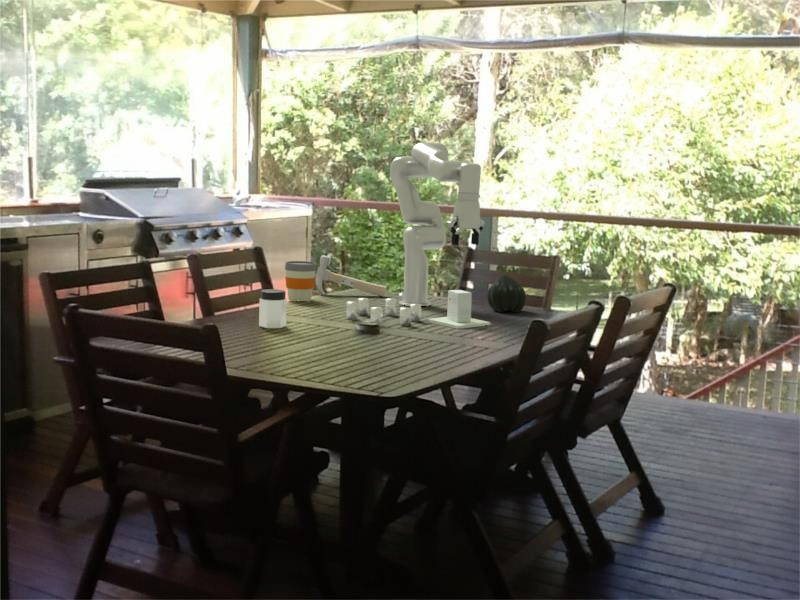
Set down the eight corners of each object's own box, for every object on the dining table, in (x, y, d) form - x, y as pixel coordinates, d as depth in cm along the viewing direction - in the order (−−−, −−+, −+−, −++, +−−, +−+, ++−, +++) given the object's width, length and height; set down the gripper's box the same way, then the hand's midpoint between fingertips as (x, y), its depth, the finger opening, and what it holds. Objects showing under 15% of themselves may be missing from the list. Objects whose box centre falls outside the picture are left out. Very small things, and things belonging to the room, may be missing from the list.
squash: (525, 302, 344) (526, 270, 353) (485, 301, 347) (487, 269, 355) (525, 322, 356) (526, 290, 364) (487, 321, 358) (489, 289, 367)
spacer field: (335, 316, 328) (335, 299, 327) (382, 311, 342) (383, 296, 341) (384, 328, 306) (384, 311, 306) (432, 323, 321) (433, 306, 320)
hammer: (390, 273, 382) (322, 254, 382) (389, 275, 377) (320, 255, 377) (380, 309, 384) (312, 290, 384) (379, 311, 379) (311, 291, 380)
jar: (284, 324, 307) (285, 289, 306) (287, 328, 300) (288, 292, 298) (257, 324, 305) (258, 288, 303) (260, 328, 297) (260, 292, 296)
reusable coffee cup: (295, 303, 354) (296, 265, 352) (278, 298, 363) (278, 261, 361) (321, 301, 362) (322, 263, 360) (304, 296, 371) (305, 260, 369)
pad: (427, 321, 324) (427, 318, 324) (459, 318, 334) (459, 315, 334) (457, 328, 312) (458, 326, 312) (490, 325, 322) (490, 322, 322)
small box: (470, 322, 321) (472, 292, 319) (456, 322, 318) (458, 293, 317) (460, 318, 328) (461, 289, 326) (446, 318, 326) (447, 289, 324)
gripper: (478, 196, 336) (475, 242, 339) (443, 196, 325) (440, 243, 328) (492, 198, 330) (489, 245, 333) (457, 198, 319) (454, 246, 322)
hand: (464, 244), depth 331 cm, fingers open, 9 cm apart
